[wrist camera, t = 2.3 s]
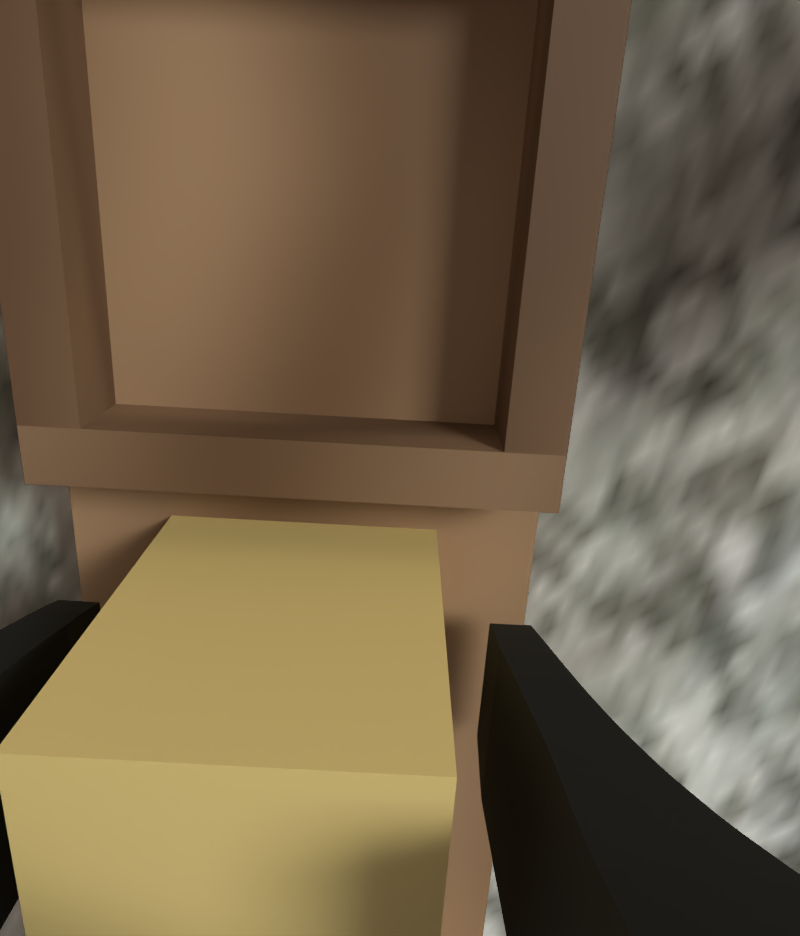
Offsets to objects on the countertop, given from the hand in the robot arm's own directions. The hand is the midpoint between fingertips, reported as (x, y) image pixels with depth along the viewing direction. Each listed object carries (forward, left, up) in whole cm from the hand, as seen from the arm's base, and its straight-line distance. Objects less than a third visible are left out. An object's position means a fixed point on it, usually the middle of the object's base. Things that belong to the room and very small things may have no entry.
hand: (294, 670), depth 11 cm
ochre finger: (0, 0, -1) cm, 1 cm away
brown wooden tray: (0, 0, -2) cm, 2 cm away
